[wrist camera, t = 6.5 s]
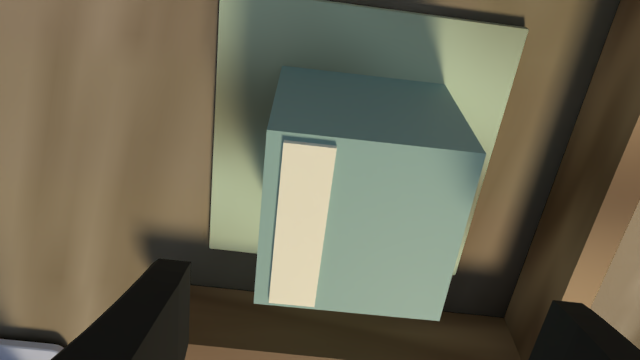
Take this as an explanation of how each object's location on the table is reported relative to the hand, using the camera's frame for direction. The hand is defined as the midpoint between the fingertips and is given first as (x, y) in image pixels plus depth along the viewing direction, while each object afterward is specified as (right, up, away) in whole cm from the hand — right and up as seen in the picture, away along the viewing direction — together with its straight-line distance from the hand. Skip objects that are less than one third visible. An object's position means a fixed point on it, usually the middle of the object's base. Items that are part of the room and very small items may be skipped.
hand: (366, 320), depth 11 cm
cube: (0, +4, +7) cm, 8 cm away
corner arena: (0, +4, +7) cm, 8 cm away
